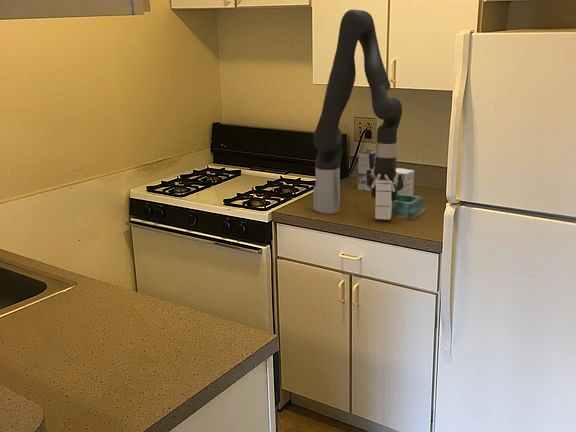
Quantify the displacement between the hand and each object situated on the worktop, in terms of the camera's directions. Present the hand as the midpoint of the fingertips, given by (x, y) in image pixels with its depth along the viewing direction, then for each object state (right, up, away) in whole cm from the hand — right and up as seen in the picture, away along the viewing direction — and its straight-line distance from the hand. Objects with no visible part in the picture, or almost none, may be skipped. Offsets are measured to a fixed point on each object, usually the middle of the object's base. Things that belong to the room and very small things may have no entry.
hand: (383, 199), depth 233 cm
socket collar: (+9, -5, +10) cm, 14 cm away
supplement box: (+11, 0, +27) cm, 29 cm away
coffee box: (0, +6, +46) cm, 46 cm away
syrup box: (0, -7, +2) cm, 7 cm away
